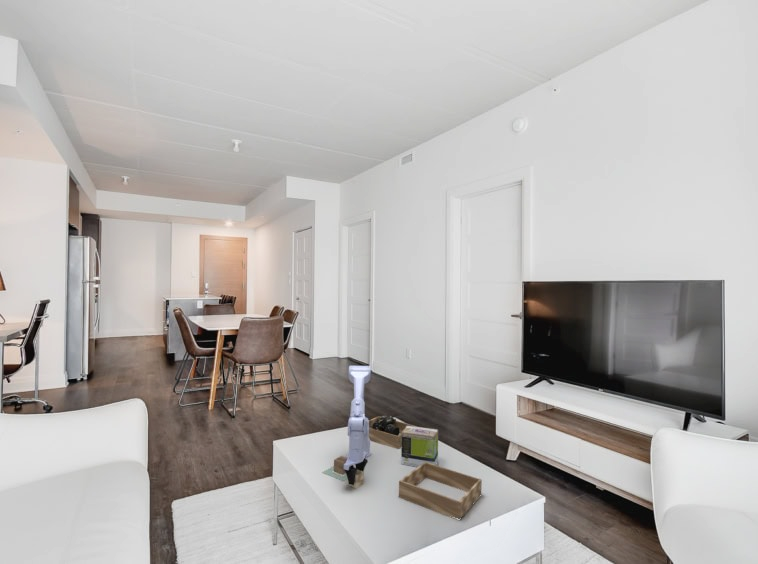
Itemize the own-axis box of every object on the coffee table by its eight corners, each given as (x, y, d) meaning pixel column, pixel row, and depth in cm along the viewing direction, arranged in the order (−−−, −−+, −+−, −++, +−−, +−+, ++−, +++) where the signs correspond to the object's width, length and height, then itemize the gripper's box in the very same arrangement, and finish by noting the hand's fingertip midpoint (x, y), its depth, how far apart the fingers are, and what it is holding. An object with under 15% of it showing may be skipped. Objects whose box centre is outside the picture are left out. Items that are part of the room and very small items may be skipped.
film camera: (391, 444, 196) (392, 424, 197) (369, 440, 202) (369, 420, 202) (404, 433, 212) (405, 414, 213) (383, 429, 218) (384, 411, 218)
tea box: (438, 461, 180) (438, 428, 180) (433, 470, 171) (434, 436, 171) (406, 455, 185) (407, 424, 185) (400, 464, 176) (401, 431, 176)
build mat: (340, 462, 176) (340, 462, 176) (361, 470, 169) (361, 469, 169) (321, 472, 166) (321, 472, 166) (343, 481, 159) (343, 480, 159)
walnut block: (341, 467, 171) (341, 455, 171) (350, 470, 168) (350, 458, 168) (333, 471, 167) (334, 459, 167) (342, 475, 164) (343, 463, 164)
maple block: (354, 480, 160) (354, 468, 160) (363, 484, 158) (363, 471, 158) (347, 485, 156) (347, 472, 157) (356, 488, 154) (356, 476, 154)
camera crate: (378, 426, 222) (378, 416, 222) (416, 437, 208) (416, 426, 208) (358, 436, 206) (358, 425, 206) (397, 449, 192) (398, 436, 192)
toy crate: (424, 476, 166) (424, 461, 166) (481, 495, 152) (481, 479, 152) (398, 497, 149) (399, 481, 149) (459, 520, 135) (460, 503, 135)
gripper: (357, 438, 165) (356, 471, 165) (337, 450, 153) (336, 486, 153) (372, 442, 162) (371, 475, 162) (352, 455, 149) (351, 491, 149)
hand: (355, 480), depth 157 cm, fingers open, 5 cm apart
